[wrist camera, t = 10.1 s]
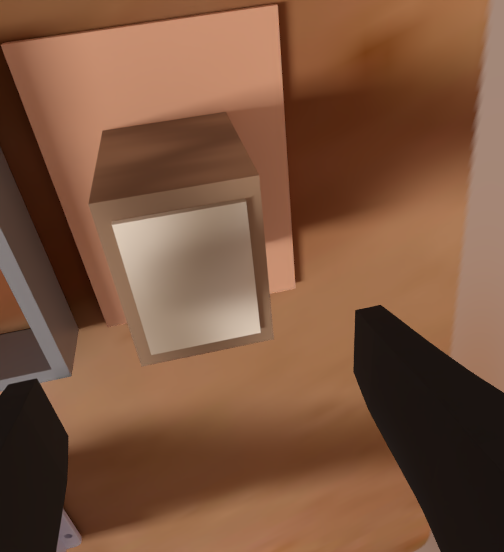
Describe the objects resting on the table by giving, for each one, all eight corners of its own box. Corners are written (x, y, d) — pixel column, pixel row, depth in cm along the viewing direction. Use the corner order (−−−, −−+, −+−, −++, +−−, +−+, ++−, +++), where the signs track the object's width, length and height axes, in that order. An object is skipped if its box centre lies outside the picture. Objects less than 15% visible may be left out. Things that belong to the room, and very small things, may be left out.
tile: (293, 283, 23) (295, 288, 23) (108, 321, 22) (107, 327, 22) (274, 3, 16) (277, 4, 16) (3, 42, 15) (0, 45, 15)
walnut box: (225, 111, 17) (260, 178, 12) (242, 248, 21) (275, 343, 16) (102, 130, 17) (87, 207, 12) (140, 267, 21) (141, 370, 16)
